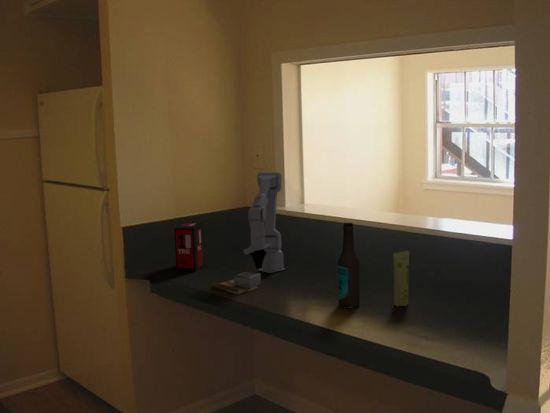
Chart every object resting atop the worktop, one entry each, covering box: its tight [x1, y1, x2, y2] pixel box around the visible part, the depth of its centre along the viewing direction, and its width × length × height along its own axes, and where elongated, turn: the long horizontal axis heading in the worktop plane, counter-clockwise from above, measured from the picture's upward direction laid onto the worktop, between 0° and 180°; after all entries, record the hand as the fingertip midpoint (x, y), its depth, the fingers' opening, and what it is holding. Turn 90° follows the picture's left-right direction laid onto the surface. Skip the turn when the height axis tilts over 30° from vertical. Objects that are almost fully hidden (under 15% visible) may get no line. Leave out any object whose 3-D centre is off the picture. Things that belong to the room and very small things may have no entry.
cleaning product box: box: [173, 221, 206, 273], centre depth 284 cm, size 16×9×20 cm, turn 172°
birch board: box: [212, 279, 259, 295], centre depth 248 cm, size 11×16×2 cm
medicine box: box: [233, 271, 262, 289], centre depth 248 cm, size 8×4×9 cm
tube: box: [392, 250, 410, 307], centre depth 218 cm, size 6×5×20 cm
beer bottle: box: [337, 222, 361, 309], centre depth 218 cm, size 8×8×30 cm
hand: (258, 268), depth 256 cm, fingers closed
